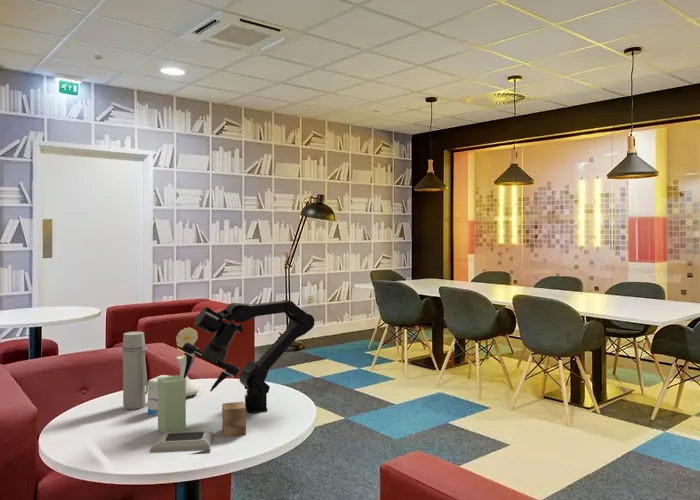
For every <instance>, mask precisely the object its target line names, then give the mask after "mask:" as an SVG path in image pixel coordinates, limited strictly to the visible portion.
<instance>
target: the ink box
mask: <svg viewBox="0 0 700 500" xmlns="http://www.w3.org/2000/svg"><path fill="white" fill-rule="evenodd" d="M170 376H171V375H166V374H161V375H158V376H156V377H153V378H151V379H149V380H148V381H147V382H148V392H147V415H151V416H152V415H153V416H154V415H155V416H158V378H163V377H170Z"/></svg>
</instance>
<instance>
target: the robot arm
mask: <svg viewBox="0 0 700 500" xmlns="http://www.w3.org/2000/svg"><path fill="white" fill-rule="evenodd" d="M282 313H283V314H285V316H286V317H287V318H288V319H289V321H288V324H287V327H286V329H285V331H284V332H282V334H281V335H279V337H278V338H277V339H276V340H275V342H273V344H272V345H271V346H270V347H269V348H268V349H267V350H266V351H265V353H264V354H263V355H262V356H261V357H260V358H259V359H258V360H256V361H251V360H249V361H248V362H247V363H246V365H245V366H244V367H242V368H241V371H240V367H238V366H236V365H234V364H232V363H230V362H227V363H226V362H224V361H225V360H226V358H227V356H228V353H229V351H228V350H227V349H228V348H229V346H230V345H231V342H232V340H233V339H234V336H235V335H236V333H237V332H238V333H241V334H243V333H244V330H243V326H242V324H241V323H243V322H246V321H249V320H251V319H253V318H255V317H261V316H268V315H275V314H282ZM223 320H225V321H227V322H225V321H223ZM232 321H233V322H232ZM234 322H235V323H234ZM236 323H237V324H236ZM193 325H194V326H195V327H197V328H199V329H200V330H203V331H205V332H206V333H209V334H213V333H214V335H213V337H212V338H211V341H210V342H209V343H208V344H207V345H206V346H205V348H204V349H203V351H201V350H200V349H199V347H197V346H196V345H195V344H194V345H192V344H190V343H185V344H184V346H183V347H181V349H180V350H182V351H184V352H185V353H183V356H185V355H186V368H185V373H184V379H185V378H186V376H187V377H188V375H189V372H190V370H191V368H192V366H193V364H194V362H195V359H196V357H195V356H197V357H198V358H201V359H204V360H205V361H207V362H209V363H210V364H211V363H212V364H214V366H218V367H219V368H222V369H223V371H221V372H220V374H219V376H218V377H217V379H216V381H215V382H214V383H213V385H212V386H211V389H210V392H213V391H214V390H215V389H216V387H218V386H219V384H220V383H222V382H223V381H224V380H225V379H226V378H228V377H229V378H232V377H237V376H239V382H240V383H241V384H242V386H243V387H244V389H245V390H246V393H245V394H246V395H244V405H245V407H246V413H249V414H251V413H260V412H267V411H269V410H268V406H267V405H268V404H267V402H268V401H267V396H268V395H267V394H268V393H269V392H270V389H271V386H270V385H269V384H267V383H266V382H265V380H266V379H267V377H268V373H269V370H270V369H271V368H272V367H273V365H274V364H275V363H276V362H277V361H278V360H279V359H280V358H281V356H282V355H284V353H286V351H287V350H288V349H289V348H290V347H291V346H292V344H294V342H295V341H296V340H297V339H298V338H300V337H303V336H305V335H306V334H307V333H309V332H310V331H312V329H313V328H314V327H315V318H314V316H313V315H312V314H310V313H307V312H306V311H304V310H303V309H302V308H300V307H299V306H298V305H296V303H294V302H293V301H292V300H289V299H283V300H279V301H270V302H263V303H253V304H252V303H250V304H249V303H240V302H238V303H237V302H231V303H229V304H227V307H226V308H224V309H222V310H220V311H218V312H216V311H214V310H213V309H211V308H210V307H208V306H204V308H203V309H202V310H201V311H200V312H199V313H198V314H197V315H196V317H195V318H194V322H193ZM239 372H240V373H239ZM238 374H239V375H238Z"/></svg>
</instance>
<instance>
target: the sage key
mask: <svg viewBox="0 0 700 500" xmlns="http://www.w3.org/2000/svg"><path fill="white" fill-rule="evenodd" d="M169 376H170V377H163V378H158V415H157V430H158V431H160V432H161V434H163V433H165V432H185V431H187V422H186V421H187V419H186V418H187V416H186V415H187V412H186V411H187V407H186V406H187V400H186V398H187V396H186V379H184V378H182V377H180V375H179V374H178V375H169Z"/></svg>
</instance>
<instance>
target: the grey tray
mask: <svg viewBox="0 0 700 500" xmlns="http://www.w3.org/2000/svg"><path fill="white" fill-rule="evenodd" d="M213 439H214V432H212V431H210V430H207V429H206V430H192V431H191V430H190V431H189V430H186V431H181V432H165V433H161V434H158V436H157V438H156V439H155V441H154V442H153V444H152V446H151V447H150V453H157V452H161V453H162V452H177V451H178V452H179V451H196V450H197V452H193V453H189V454H188V455H207V454H210V453H211V445H212V442H213ZM200 450H201V451H200Z"/></svg>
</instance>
